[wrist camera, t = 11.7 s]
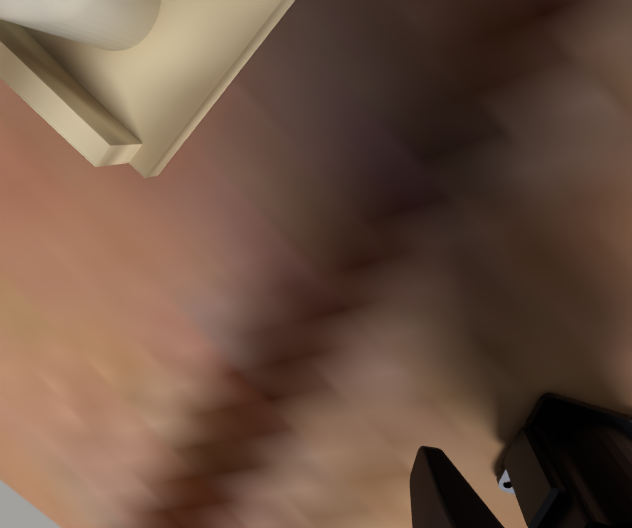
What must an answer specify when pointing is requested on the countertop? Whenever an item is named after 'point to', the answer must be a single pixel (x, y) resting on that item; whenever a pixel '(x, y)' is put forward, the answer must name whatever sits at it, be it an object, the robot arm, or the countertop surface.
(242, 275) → the countertop surface
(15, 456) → the countertop surface
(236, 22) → the stand
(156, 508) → the countertop surface
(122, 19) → the mill
